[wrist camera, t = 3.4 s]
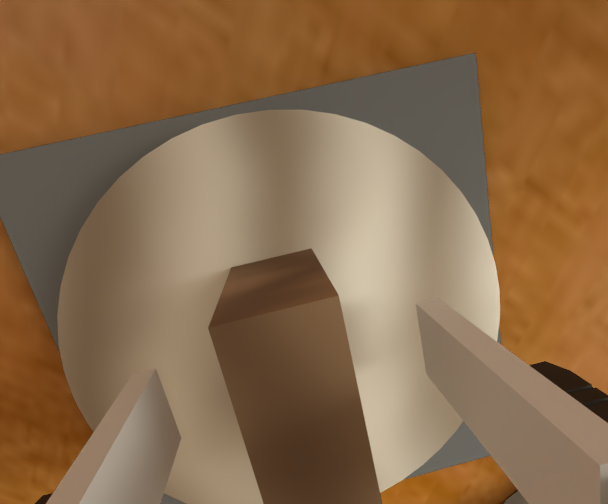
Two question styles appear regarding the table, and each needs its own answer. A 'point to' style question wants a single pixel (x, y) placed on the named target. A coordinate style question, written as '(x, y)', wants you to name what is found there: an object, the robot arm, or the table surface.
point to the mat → (146, 137)
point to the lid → (277, 304)
